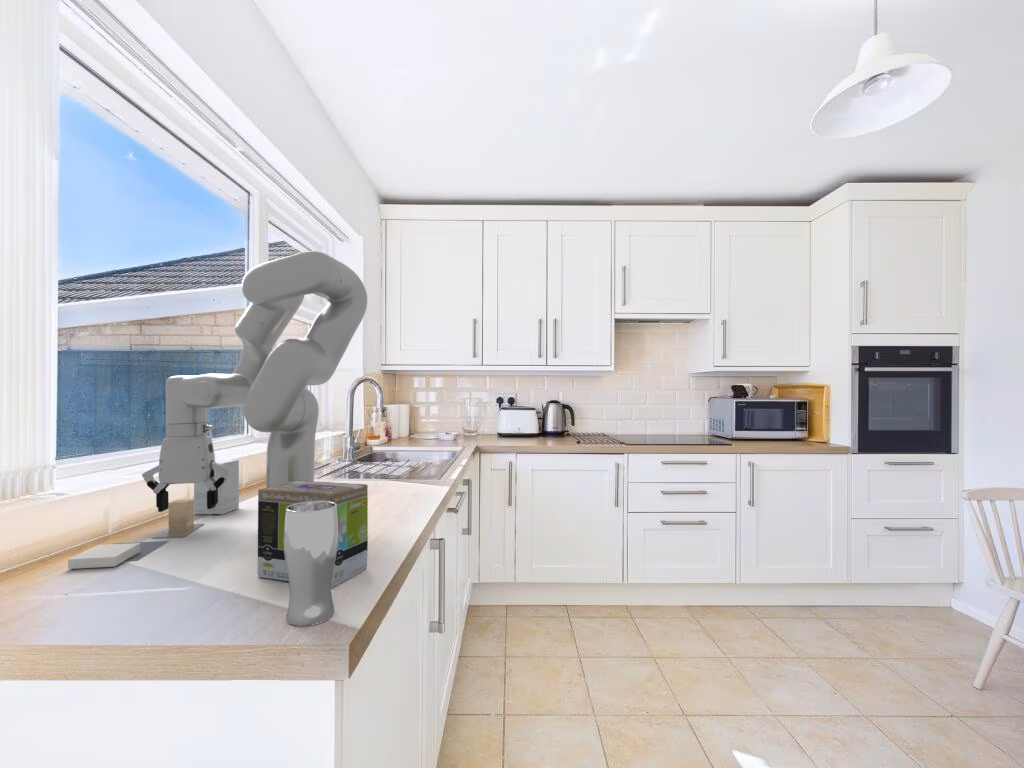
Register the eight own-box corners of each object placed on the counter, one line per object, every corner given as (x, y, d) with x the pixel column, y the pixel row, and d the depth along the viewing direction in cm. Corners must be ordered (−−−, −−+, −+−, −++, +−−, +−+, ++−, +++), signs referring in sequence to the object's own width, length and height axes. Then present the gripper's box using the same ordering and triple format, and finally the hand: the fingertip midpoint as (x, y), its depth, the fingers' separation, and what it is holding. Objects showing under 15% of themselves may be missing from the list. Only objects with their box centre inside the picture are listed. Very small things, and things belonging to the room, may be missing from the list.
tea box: (369, 569, 87) (370, 483, 88) (330, 590, 78) (331, 494, 78) (299, 559, 92) (299, 477, 92) (254, 578, 83) (255, 487, 83)
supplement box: (239, 508, 131) (240, 459, 131) (220, 515, 124) (221, 463, 124) (213, 507, 132) (213, 459, 132) (192, 514, 124) (193, 463, 125)
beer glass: (284, 632, 64) (285, 514, 64) (281, 611, 70) (282, 503, 71) (341, 621, 67) (342, 508, 68) (333, 601, 74) (334, 498, 74)
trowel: (183, 539, 104) (184, 506, 104) (151, 541, 103) (151, 508, 103) (204, 526, 114) (204, 496, 114) (174, 528, 113) (175, 497, 113)
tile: (97, 545, 93) (68, 559, 85) (140, 543, 94) (115, 557, 86) (97, 554, 93) (67, 570, 85) (140, 552, 94) (114, 567, 86)
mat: (169, 542, 102) (169, 540, 102) (137, 562, 90) (137, 560, 90) (113, 544, 100) (113, 543, 100) (73, 565, 88) (73, 563, 88)
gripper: (235, 428, 117) (236, 503, 117) (151, 431, 114) (152, 507, 114) (222, 431, 110) (224, 510, 110) (133, 434, 107) (134, 515, 106)
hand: (187, 509), depth 112 cm, fingers open, 9 cm apart
